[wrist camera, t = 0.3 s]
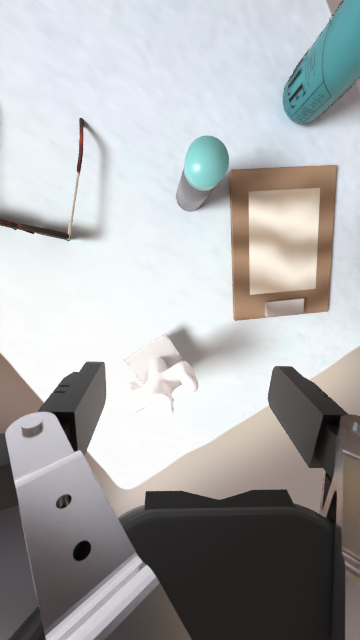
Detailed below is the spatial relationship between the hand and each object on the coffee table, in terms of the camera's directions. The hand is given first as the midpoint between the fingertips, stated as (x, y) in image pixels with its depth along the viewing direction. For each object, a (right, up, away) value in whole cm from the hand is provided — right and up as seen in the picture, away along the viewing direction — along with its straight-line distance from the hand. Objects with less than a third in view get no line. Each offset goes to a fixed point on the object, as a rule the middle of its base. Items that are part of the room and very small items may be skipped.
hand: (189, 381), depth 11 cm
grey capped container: (+1, +21, +23) cm, 31 cm away
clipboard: (+16, +14, +26) cm, 34 cm away
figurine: (-4, -3, +28) cm, 29 cm away
